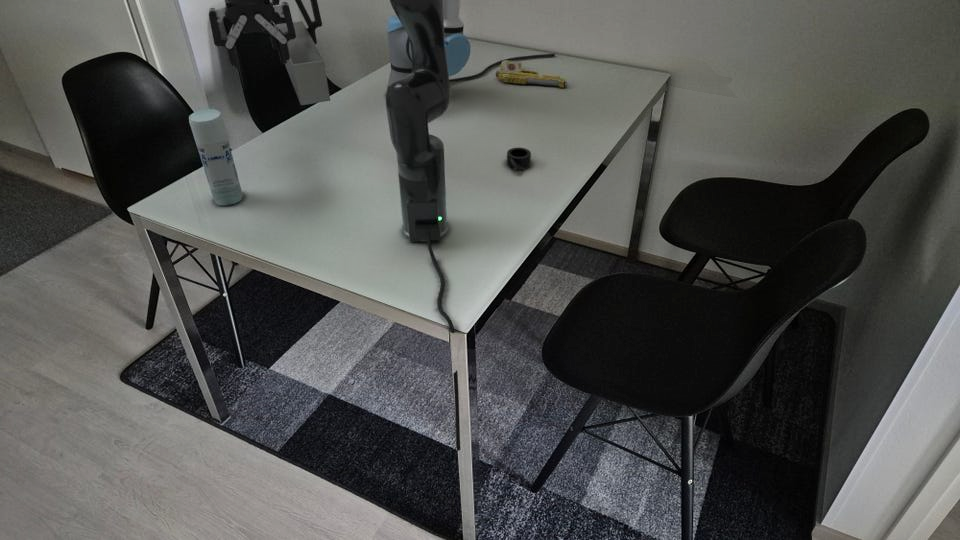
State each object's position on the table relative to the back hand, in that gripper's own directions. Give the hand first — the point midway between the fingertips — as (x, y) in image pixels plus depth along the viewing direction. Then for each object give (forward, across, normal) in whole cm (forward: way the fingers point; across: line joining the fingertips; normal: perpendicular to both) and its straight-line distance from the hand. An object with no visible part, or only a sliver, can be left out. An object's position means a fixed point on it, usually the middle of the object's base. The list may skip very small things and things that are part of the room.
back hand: (297, 60), depth 144 cm
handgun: (+25, -73, -28) cm, 82 cm away
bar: (+1, 0, +10) cm, 10 cm away
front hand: (-9, +9, +26) cm, 29 cm away
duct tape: (+24, -46, +23) cm, 57 cm away
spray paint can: (+24, +22, +15) cm, 36 cm away
